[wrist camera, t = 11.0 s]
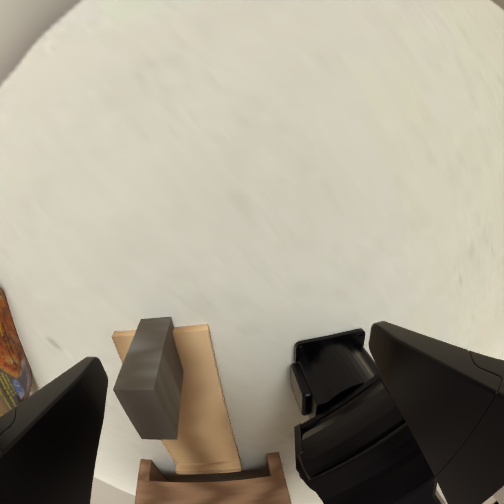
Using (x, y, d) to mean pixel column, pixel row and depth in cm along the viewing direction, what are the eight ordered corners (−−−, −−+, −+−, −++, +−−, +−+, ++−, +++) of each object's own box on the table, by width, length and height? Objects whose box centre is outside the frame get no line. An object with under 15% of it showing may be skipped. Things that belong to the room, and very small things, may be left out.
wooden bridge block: (278, 452, 28) (291, 503, 20) (279, 481, 31) (289, 522, 23) (140, 459, 26) (134, 507, 19) (164, 488, 29) (162, 528, 22)
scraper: (205, 313, 21) (203, 387, 13) (239, 459, 28) (246, 510, 20) (110, 321, 20) (75, 387, 12) (178, 462, 27) (176, 512, 19)
